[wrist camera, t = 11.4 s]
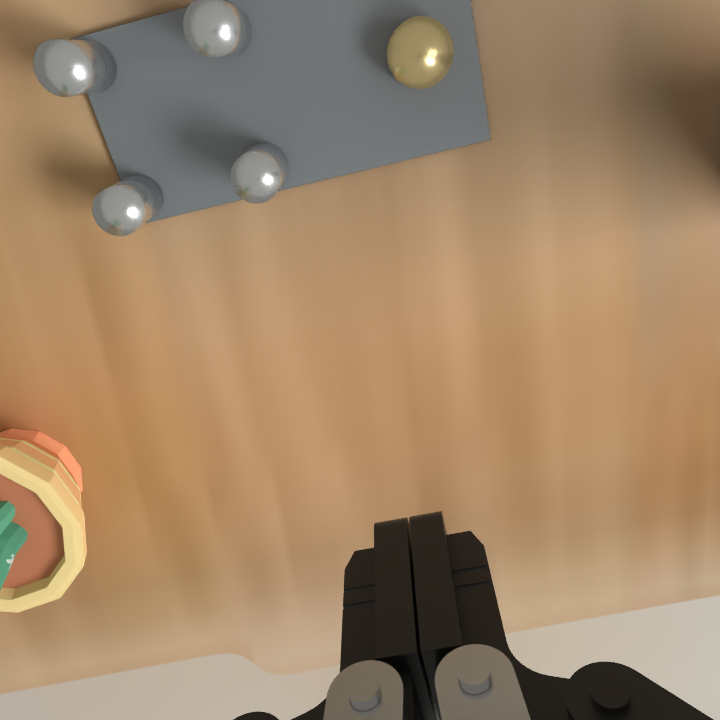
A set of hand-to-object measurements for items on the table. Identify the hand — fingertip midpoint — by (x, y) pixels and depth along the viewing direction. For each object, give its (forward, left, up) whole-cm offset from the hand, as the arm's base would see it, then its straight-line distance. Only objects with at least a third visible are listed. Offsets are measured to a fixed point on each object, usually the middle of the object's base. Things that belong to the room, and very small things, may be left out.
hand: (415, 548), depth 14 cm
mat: (+4, -9, -35) cm, 36 cm away
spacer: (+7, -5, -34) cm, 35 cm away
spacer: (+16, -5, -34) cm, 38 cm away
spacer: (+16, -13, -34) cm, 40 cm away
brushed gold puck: (-4, -9, -34) cm, 36 cm away
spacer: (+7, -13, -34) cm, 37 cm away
